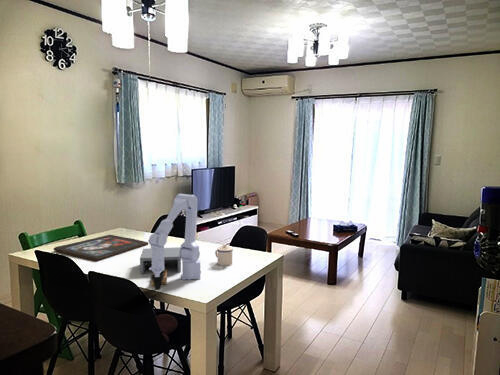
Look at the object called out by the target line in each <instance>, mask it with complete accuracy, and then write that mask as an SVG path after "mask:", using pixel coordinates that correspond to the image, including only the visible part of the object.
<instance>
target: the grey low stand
mask: <svg viewBox="0 0 500 375" xmlns="http://www.w3.org/2000/svg"><path fill="white" fill-rule="evenodd" d="M180 248H181V246H180V247H179V246H177V247H164V264H177V273H182V260H181V258H180V256H179V251H180ZM147 265H152V250H151V247H150V248H143V249H142V251H141V254H140V257H139V266H140V267H139V269H140V270H139V271H140V272H139V273H140V275H144V274H143V273H145V269H146V266H147Z"/></svg>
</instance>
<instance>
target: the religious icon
mask: <svg viewBox="0 0 500 375" xmlns="http://www.w3.org/2000/svg"><path fill="white" fill-rule="evenodd" d="M148 245H150V244H149V241H144V240H140V239H135V238H131V237H126V236H125V237H124V236H119V235H115V234H107V235H102V236H97V237H93V238H89V239H85V240H81V241H77V242H72V243H67V244H64V245H63V244H62V245H59V246H55V247H53V251H54V252H58V253H61V254H65V255H70V256H71V257H72V258H75V257H77V258H81V259H82V258H83V259H85V260H89V261H94V262H99V261H104V260H106V259H109V258H112V257H115V256H118V255H121V254H124V253H126V252H127V253H128V252H130V251H131V252H132V251H133V250H136V249H139V248H142V247H143V248H144V247H147V246H148Z"/></svg>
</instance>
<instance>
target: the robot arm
mask: <svg viewBox="0 0 500 375" xmlns="http://www.w3.org/2000/svg"><path fill="white" fill-rule="evenodd" d="M181 211H185V212H186V213H185V214H186V216H185V227H184V229H185V231H184V242H183V243H181V244H180V247H181V248H180V251H179V256H180V258H181V280H183V281H186V279H187V280H200V279H201V274H202V271H201V259H200V254H201V253H200V252H201V251H200V246H199V245H198V244H197V243H196V234H197V233H196V232H197V219H198V218H197V217H198V198H197V197H196V195H195V194H186V193H182V192H181V193H178V194H177V195H176V196H175V198H174V199H173V205H172V207H171V210H170V211H169V213H168V215H167V217H166V218H165V219H163V220H161V222H160V224H158V225H159V226H158V227H157V228H156V230H155V231H154V232H153V233H151V234H150V236H149V239H147V240H148V241H147V242H148V243H149V244H148V245H150V248H151V250H152V264H151V266H150V267H149V268H148V270H149V271H152V272H154V274H155V275H153V274H150V275H151V276H150V277H151V278H152V280H153V282H154V286H153V287H154V289H155V291H160V290H161V288H162V286H161V282H162V279H163V277H164V275H163V272H164V270H166V269H165V263H164V248H165V245H166V244H167V241H168V237H169V236H168V235H170V232H171V230H172V228H174V224H173V222H174V221H175V219H177V217H178V216H179V214H180V213H181ZM151 278H150V279H151ZM152 280H151V281H152Z"/></svg>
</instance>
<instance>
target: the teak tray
mask: <svg viewBox="0 0 500 375" xmlns="http://www.w3.org/2000/svg"><path fill="white" fill-rule="evenodd" d="M152 272H153V271H152ZM152 275H155V274H154V272H153V274H152ZM163 275H164V277H163V279H162V282H161V285H166V286H167V284H168V283H167V281H168V269H165V270H164V272H163ZM150 279H151V287H155V286H154V282H153V280H152V278H150ZM166 283H167V284H166Z"/></svg>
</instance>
